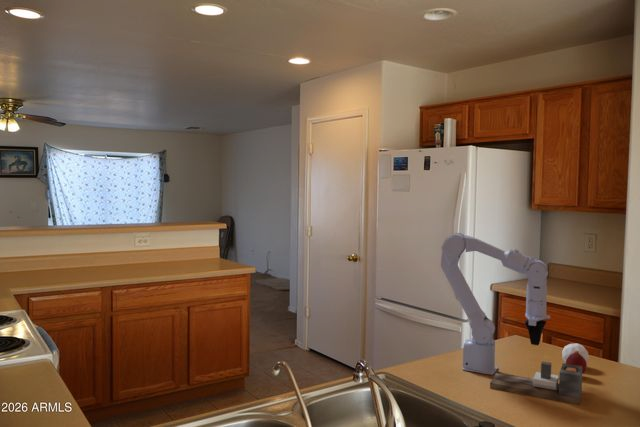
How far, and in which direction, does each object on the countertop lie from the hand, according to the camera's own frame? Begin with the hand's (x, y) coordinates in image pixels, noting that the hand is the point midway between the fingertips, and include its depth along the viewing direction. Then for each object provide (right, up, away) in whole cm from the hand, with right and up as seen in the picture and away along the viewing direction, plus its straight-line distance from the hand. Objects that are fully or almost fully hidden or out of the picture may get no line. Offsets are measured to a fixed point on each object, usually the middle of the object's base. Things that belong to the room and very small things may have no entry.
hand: (535, 344), depth 163 cm
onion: (+13, -10, +1) cm, 16 cm away
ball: (+17, -10, +10) cm, 22 cm away
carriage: (-2, -9, -12) cm, 15 cm away
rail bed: (-4, -10, -11) cm, 16 cm away
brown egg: (+4, -7, -16) cm, 17 cm away
